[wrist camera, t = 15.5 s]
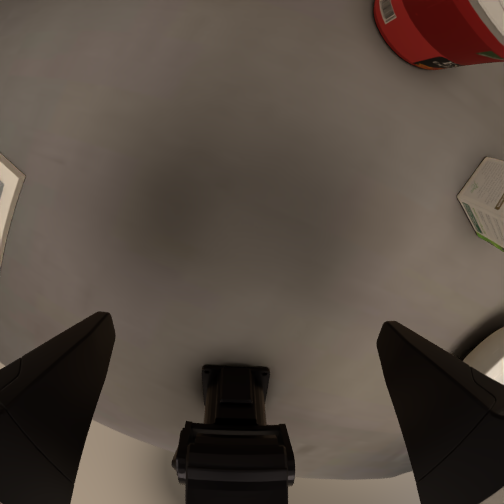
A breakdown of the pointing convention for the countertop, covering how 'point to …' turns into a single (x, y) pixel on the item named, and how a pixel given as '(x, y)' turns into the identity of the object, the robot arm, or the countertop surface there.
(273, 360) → the countertop surface
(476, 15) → the canned food
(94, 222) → the countertop surface
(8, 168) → the socket
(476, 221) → the syrup box
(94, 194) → the countertop surface
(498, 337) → the serving bowl
